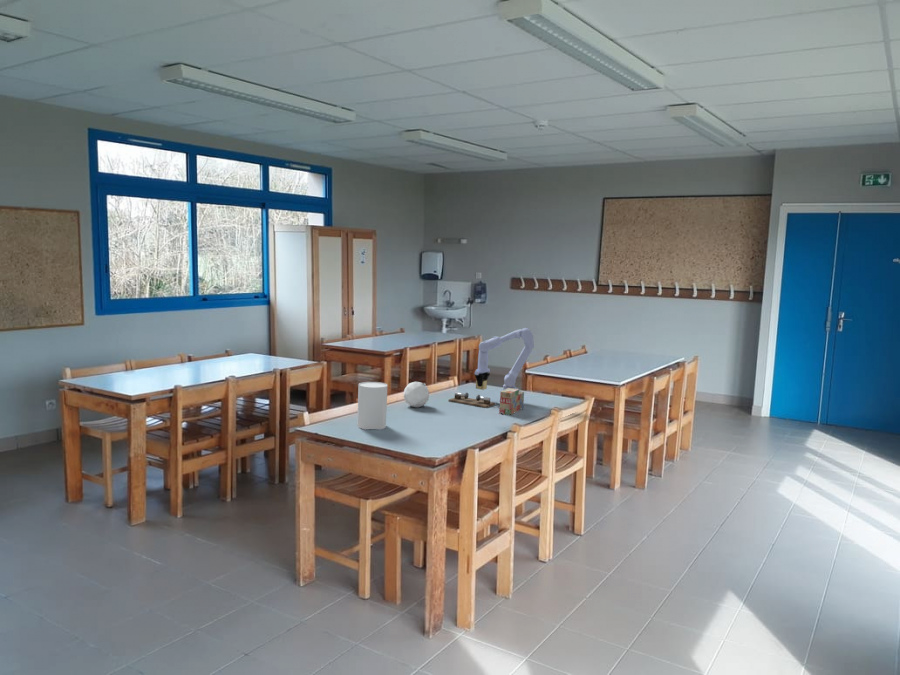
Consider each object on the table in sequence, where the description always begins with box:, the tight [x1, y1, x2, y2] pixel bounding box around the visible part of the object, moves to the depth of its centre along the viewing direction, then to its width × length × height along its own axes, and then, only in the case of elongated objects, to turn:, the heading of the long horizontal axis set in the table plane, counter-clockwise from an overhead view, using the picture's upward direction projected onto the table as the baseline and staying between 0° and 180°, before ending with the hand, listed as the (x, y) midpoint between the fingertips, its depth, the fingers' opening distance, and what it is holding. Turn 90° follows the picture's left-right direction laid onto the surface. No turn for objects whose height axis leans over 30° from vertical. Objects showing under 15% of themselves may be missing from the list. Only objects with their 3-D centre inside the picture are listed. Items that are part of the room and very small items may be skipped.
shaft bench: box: [448, 394, 496, 409], centre depth 378 cm, size 24×12×3 cm, turn 59°
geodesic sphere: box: [403, 381, 430, 408], centre depth 361 cm, size 15×14×14 cm
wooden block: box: [475, 379, 488, 391], centre depth 386 cm, size 5×4×5 cm
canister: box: [356, 381, 388, 430], centre depth 315 cm, size 14×14×20 cm
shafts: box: [454, 391, 491, 402], centre depth 378 cm, size 22×4×4 cm, turn 59°
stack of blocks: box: [498, 388, 525, 415], centre depth 363 cm, size 21×6×12 cm, turn 155°
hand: (481, 385), depth 386 cm, fingers closed on wooden block, 4 cm apart
